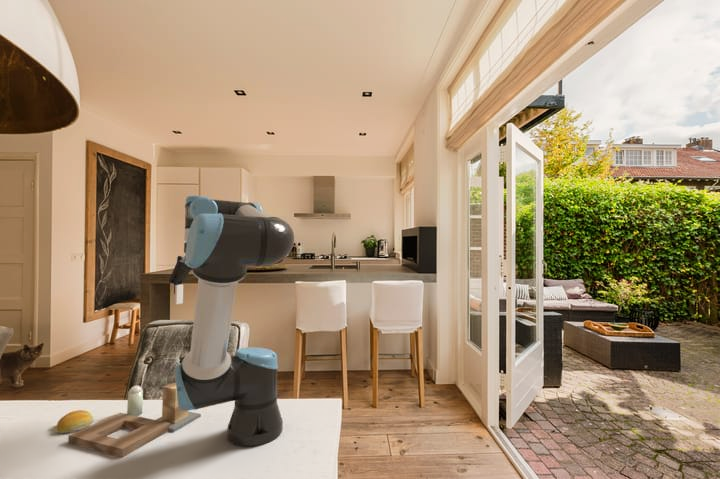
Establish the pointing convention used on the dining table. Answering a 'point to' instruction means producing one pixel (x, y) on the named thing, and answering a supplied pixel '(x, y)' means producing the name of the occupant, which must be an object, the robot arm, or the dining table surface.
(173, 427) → the slate board
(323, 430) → the dining table surface
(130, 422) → the walnut board
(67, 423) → the bread roll
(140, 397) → the sage shaker
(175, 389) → the oak block
